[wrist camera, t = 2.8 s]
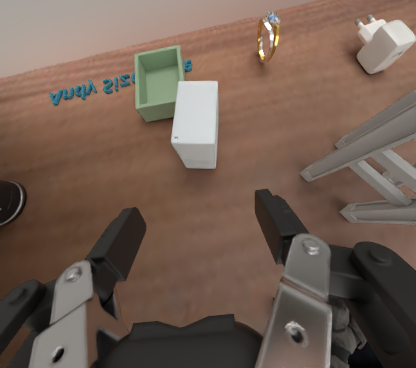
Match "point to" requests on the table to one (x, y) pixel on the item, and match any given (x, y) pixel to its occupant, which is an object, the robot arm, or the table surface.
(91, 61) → the table surface
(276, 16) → the ring
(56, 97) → the nameplate
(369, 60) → the power adapter
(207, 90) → the cosmetics box
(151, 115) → the holder
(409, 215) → the stool
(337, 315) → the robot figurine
